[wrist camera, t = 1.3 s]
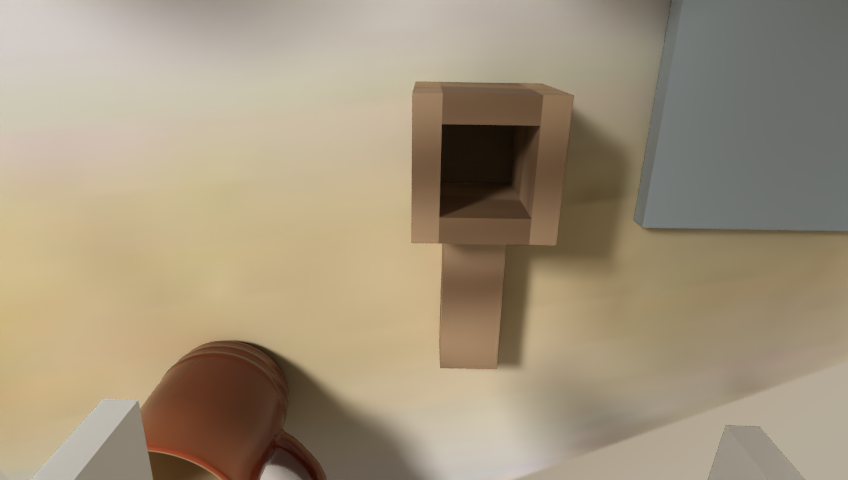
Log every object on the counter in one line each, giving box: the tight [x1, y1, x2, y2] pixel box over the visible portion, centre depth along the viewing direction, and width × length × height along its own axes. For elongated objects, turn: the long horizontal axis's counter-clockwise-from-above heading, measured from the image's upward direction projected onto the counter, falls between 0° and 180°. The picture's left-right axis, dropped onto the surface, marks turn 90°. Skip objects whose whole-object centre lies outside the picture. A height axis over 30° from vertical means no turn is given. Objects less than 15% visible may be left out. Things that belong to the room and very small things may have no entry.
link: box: [411, 82, 574, 369], centre depth 26 cm, size 15×6×6 cm, turn 179°
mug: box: [140, 341, 327, 480], centre depth 28 cm, size 12×9×10 cm
